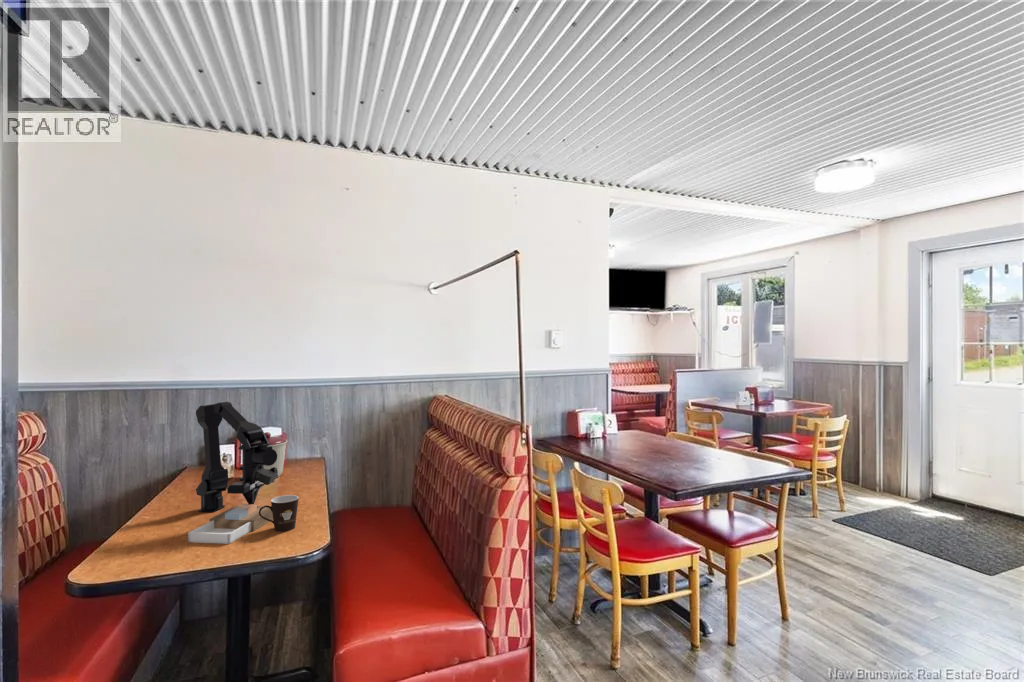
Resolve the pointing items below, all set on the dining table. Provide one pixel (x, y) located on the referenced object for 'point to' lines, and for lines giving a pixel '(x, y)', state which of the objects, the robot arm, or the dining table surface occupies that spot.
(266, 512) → the walnut board
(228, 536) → the tray
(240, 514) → the slate tile
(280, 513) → the coffee mug
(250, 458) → the robot arm
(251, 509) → the terracotta tile
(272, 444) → the canister
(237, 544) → the dining table surface
